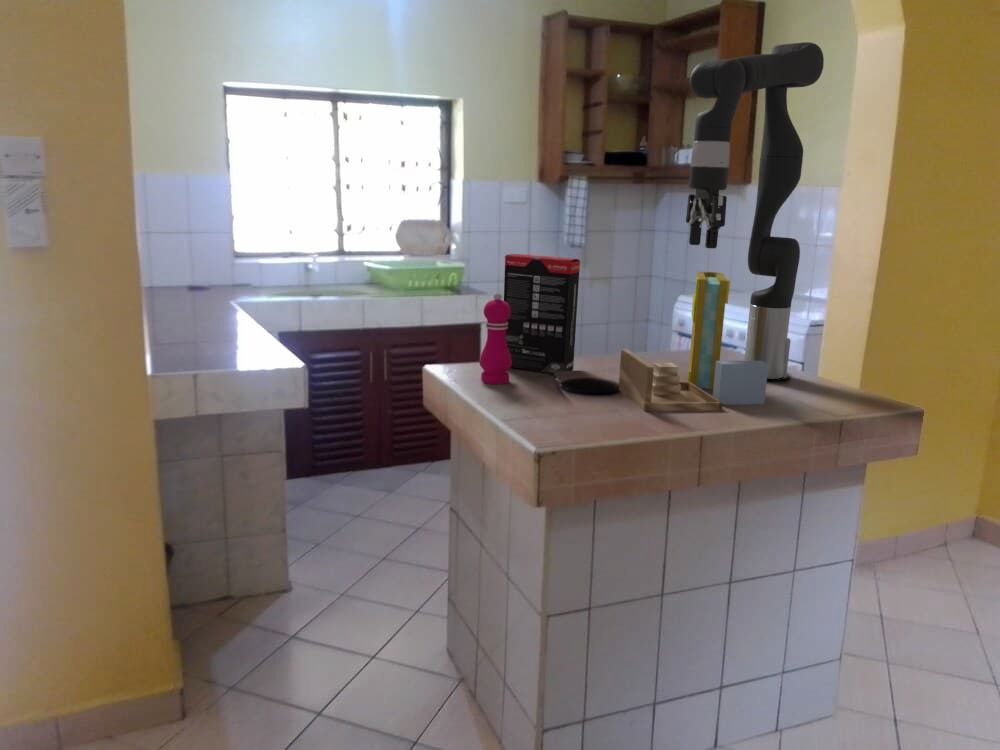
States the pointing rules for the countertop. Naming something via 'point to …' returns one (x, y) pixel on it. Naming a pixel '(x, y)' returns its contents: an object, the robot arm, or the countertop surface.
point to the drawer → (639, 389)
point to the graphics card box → (541, 311)
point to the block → (740, 382)
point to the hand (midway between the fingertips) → (702, 246)
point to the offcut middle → (665, 380)
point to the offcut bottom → (666, 389)
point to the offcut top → (665, 369)
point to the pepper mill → (496, 342)
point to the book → (707, 327)
